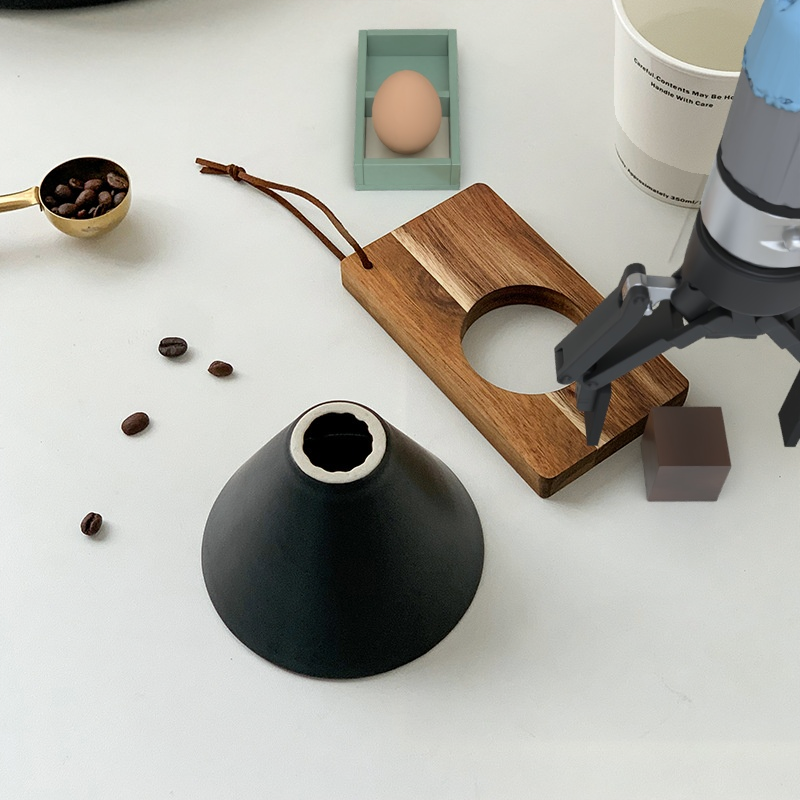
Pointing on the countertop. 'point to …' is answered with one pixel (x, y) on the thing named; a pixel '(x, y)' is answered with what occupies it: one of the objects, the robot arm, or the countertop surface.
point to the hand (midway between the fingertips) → (688, 430)
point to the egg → (406, 112)
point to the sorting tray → (440, 66)
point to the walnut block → (685, 454)
